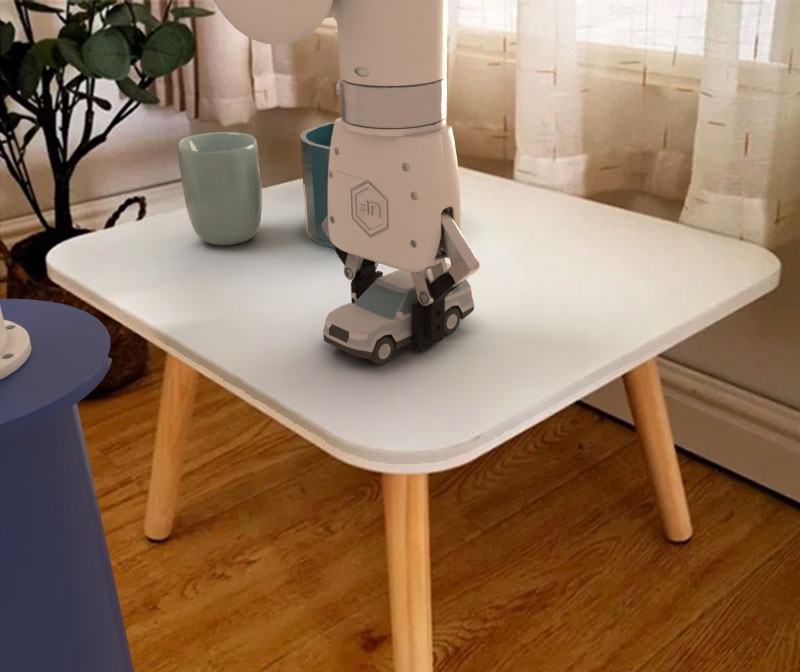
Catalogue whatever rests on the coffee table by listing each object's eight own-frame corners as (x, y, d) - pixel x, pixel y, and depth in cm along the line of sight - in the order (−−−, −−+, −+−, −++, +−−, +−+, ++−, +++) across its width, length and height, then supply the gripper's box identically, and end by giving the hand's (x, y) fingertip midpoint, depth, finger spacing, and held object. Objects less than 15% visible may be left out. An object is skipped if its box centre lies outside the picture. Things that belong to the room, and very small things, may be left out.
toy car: (314, 352, 74) (310, 293, 71) (429, 304, 82) (429, 249, 79) (363, 376, 70) (361, 315, 68) (478, 324, 78) (480, 267, 76)
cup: (258, 222, 101) (250, 128, 96) (272, 246, 95) (264, 147, 90) (185, 231, 99) (172, 135, 94) (194, 256, 93) (181, 155, 88)
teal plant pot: (367, 259, 91) (363, 156, 86) (282, 232, 98) (274, 136, 93) (447, 227, 99) (448, 131, 94) (363, 204, 106) (360, 113, 101)
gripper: (273, 96, 70) (291, 319, 78) (454, 132, 59) (451, 383, 68) (344, 80, 74) (353, 292, 83) (523, 111, 64) (512, 348, 73)
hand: (397, 331), depth 76 cm, fingers closed on toy car, 5 cm apart
